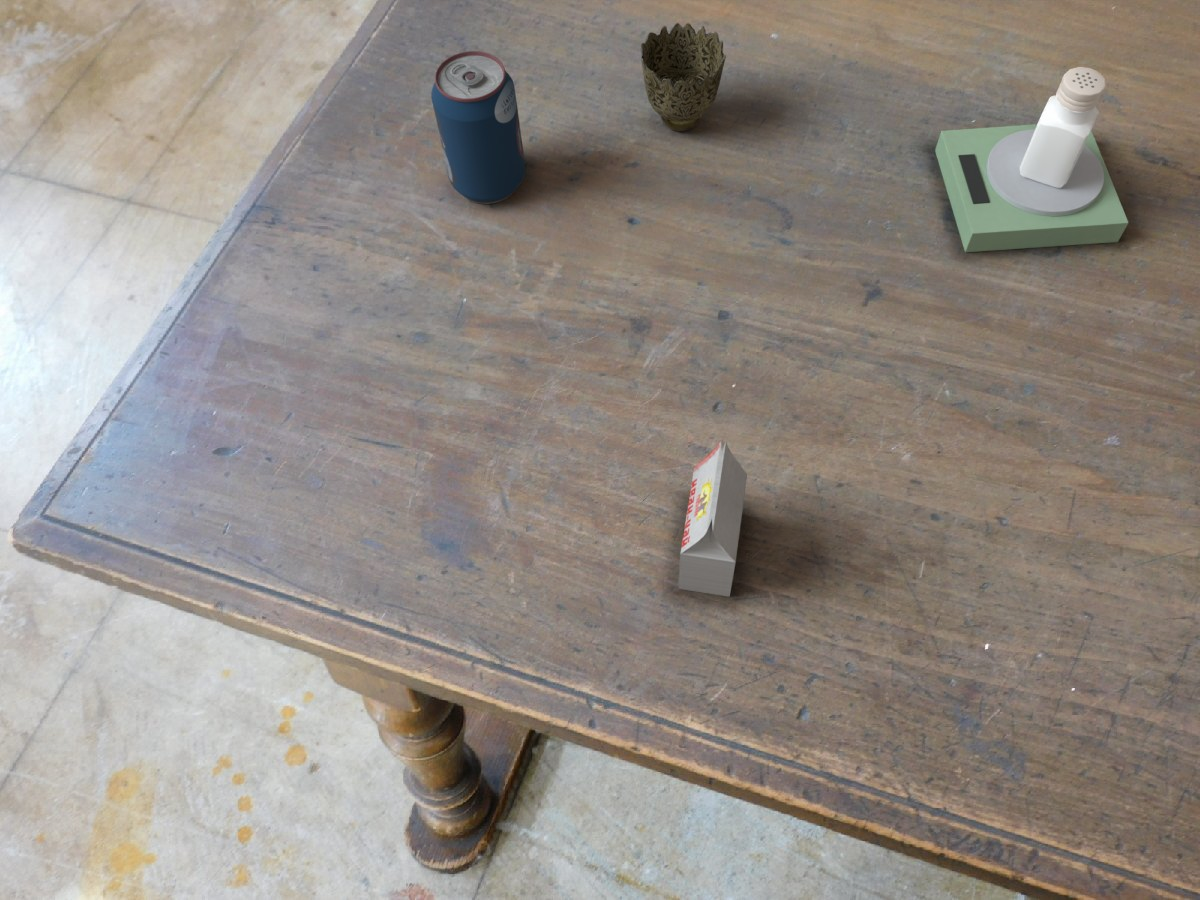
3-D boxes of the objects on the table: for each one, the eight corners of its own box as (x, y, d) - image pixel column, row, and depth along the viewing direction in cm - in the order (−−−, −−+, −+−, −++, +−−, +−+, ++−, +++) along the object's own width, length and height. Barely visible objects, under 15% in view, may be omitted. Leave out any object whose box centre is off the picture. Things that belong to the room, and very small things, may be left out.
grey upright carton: (740, 512, 80) (752, 444, 71) (729, 596, 76) (740, 535, 68) (691, 505, 80) (696, 436, 72) (678, 588, 77) (682, 527, 68)
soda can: (542, 178, 97) (530, 71, 87) (487, 221, 95) (467, 117, 85) (490, 142, 100) (471, 34, 90) (434, 183, 98) (409, 77, 87)
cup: (722, 148, 99) (728, 78, 92) (642, 150, 99) (642, 81, 92) (717, 91, 102) (723, 20, 95) (640, 94, 102) (639, 23, 96)
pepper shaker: (1029, 146, 93) (1066, 56, 85) (1075, 161, 92) (1117, 72, 84) (1015, 177, 91) (1051, 88, 83) (1062, 192, 90) (1103, 104, 82)
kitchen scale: (1078, 140, 97) (1090, 115, 95) (1117, 242, 91) (1131, 217, 89) (934, 150, 97) (942, 125, 95) (964, 252, 91) (974, 228, 89)
